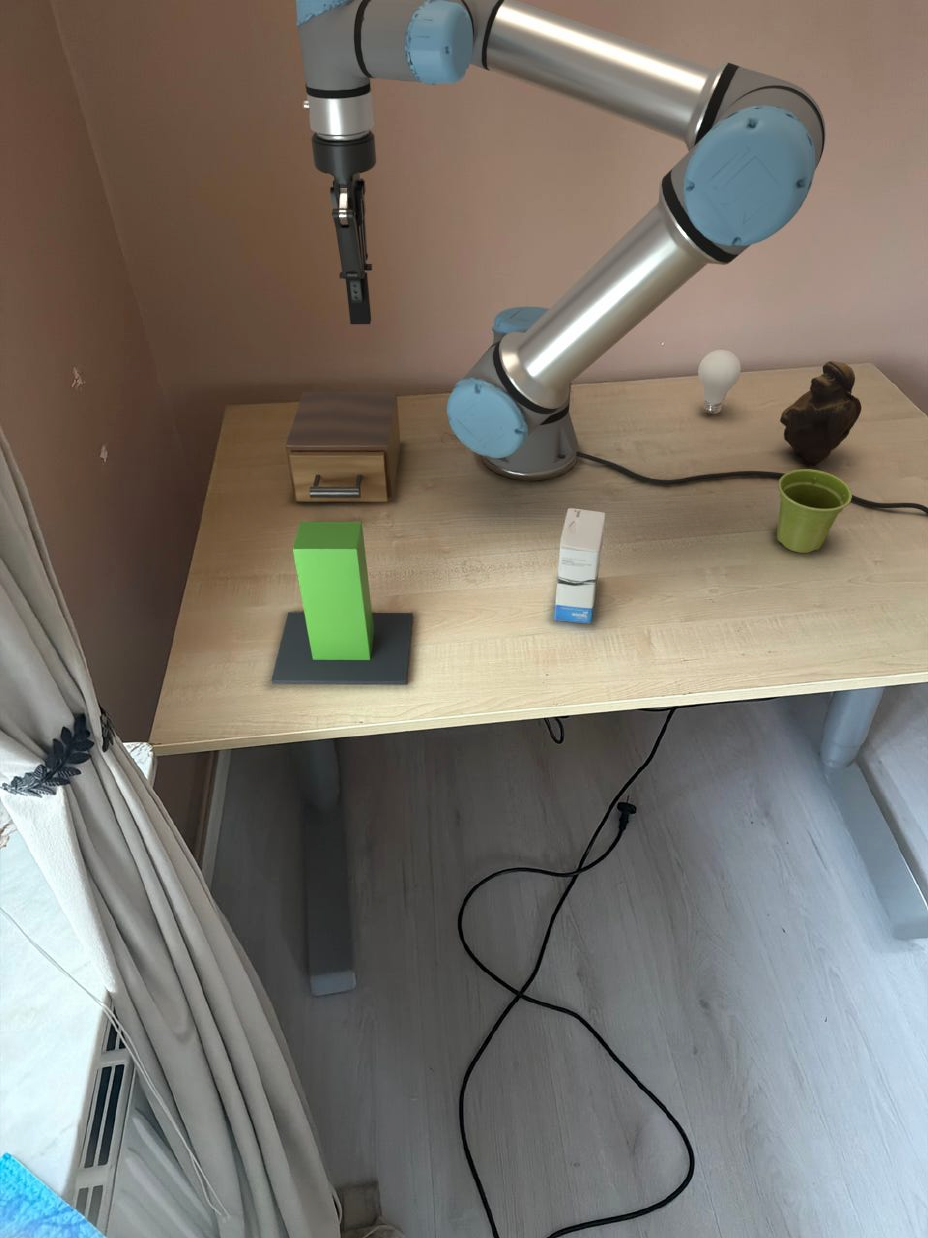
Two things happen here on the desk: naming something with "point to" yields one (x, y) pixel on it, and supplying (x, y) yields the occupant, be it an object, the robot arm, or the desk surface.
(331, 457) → the drawer
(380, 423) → the cabinet
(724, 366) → the light bulb
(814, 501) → the plant pot
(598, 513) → the ink box
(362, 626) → the tall green prism
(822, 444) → the sculpture
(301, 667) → the slate mat
